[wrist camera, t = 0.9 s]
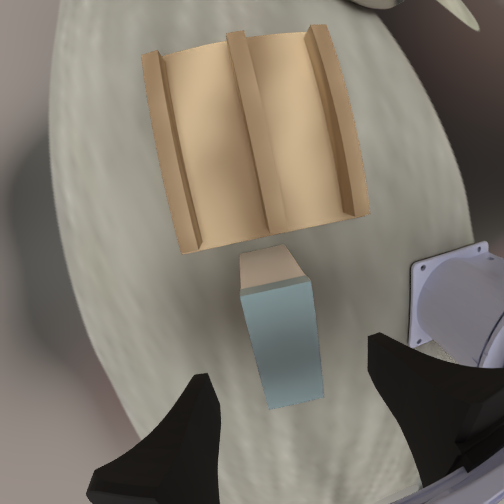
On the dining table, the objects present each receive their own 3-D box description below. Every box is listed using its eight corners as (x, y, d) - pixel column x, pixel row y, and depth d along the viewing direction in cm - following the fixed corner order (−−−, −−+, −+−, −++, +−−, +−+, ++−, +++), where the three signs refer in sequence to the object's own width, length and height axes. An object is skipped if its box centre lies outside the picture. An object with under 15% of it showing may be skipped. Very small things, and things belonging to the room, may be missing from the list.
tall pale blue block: (284, 243, 19) (311, 281, 12) (300, 333, 21) (324, 397, 14) (238, 253, 19) (239, 296, 12) (259, 342, 21) (268, 409, 14)
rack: (319, 37, 15) (331, 18, 12) (358, 214, 19) (378, 220, 16) (146, 67, 15) (132, 51, 12) (184, 250, 19) (175, 264, 16)
